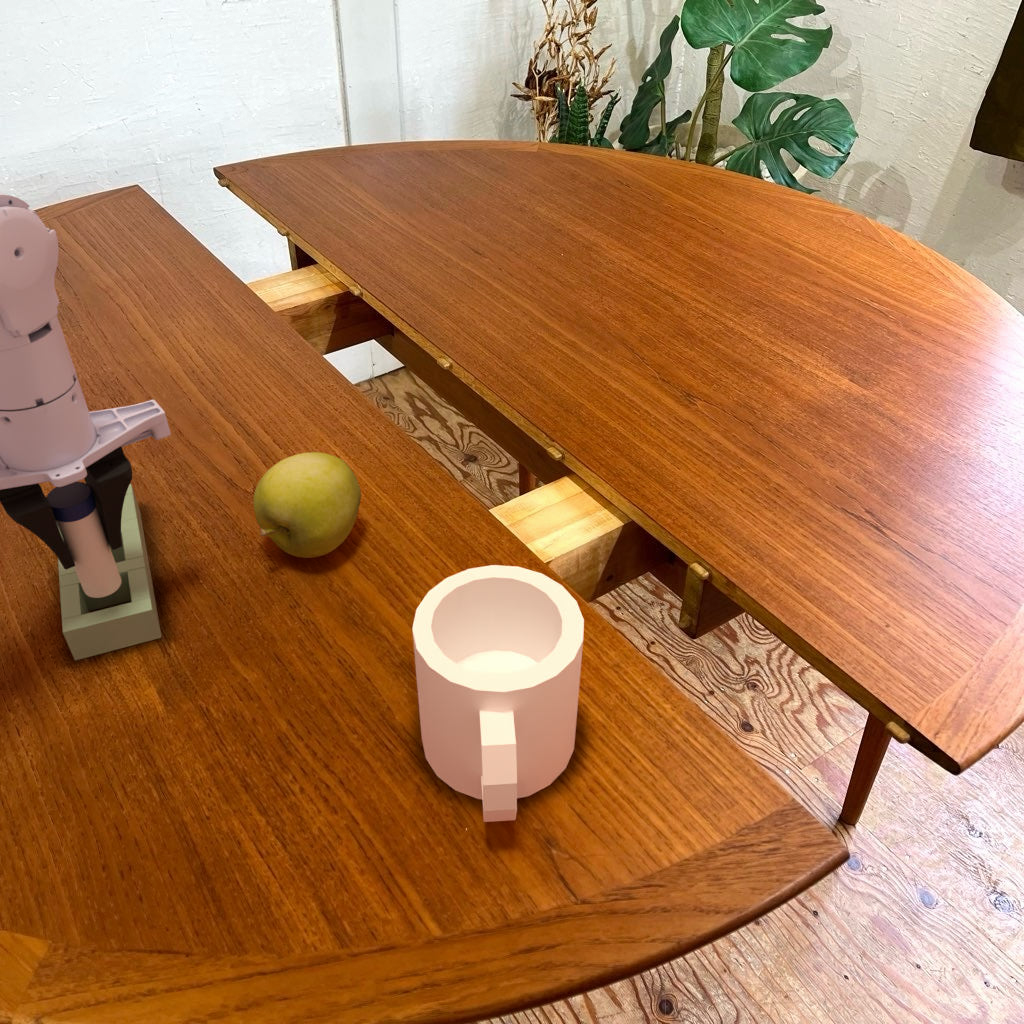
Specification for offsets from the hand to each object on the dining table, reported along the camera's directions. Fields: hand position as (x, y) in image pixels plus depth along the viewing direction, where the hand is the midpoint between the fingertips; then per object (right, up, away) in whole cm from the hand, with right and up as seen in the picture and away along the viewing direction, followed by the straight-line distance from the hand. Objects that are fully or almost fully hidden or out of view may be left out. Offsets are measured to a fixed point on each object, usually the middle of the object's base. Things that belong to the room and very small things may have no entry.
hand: (89, 550), depth 67 cm
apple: (+13, 0, +11) cm, 17 cm away
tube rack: (-2, -3, +8) cm, 8 cm away
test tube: (0, -3, +2) cm, 3 cm away
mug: (+28, -13, -4) cm, 31 cm away
